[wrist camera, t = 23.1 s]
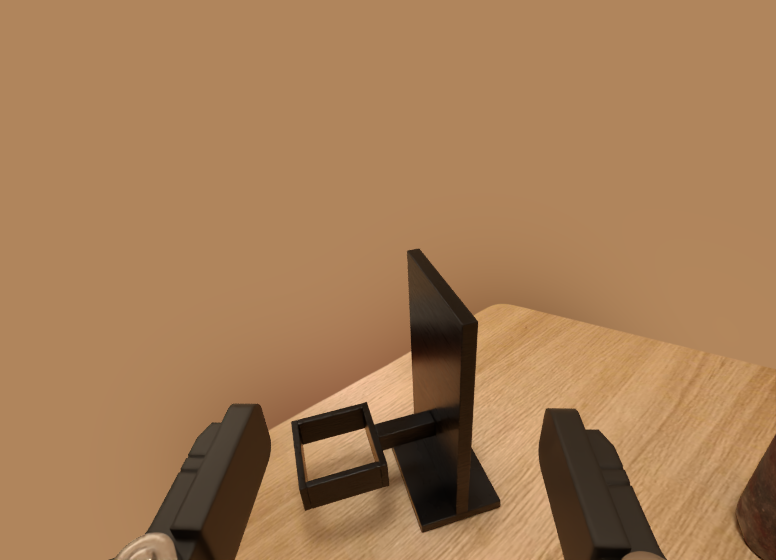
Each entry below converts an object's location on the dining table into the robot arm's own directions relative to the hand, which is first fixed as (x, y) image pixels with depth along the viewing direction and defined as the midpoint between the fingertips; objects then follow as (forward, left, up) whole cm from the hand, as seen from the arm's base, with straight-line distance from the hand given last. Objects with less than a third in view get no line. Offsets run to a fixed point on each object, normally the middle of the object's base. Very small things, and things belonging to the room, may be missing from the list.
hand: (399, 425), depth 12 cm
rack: (+4, +19, -31) cm, 37 cm away
